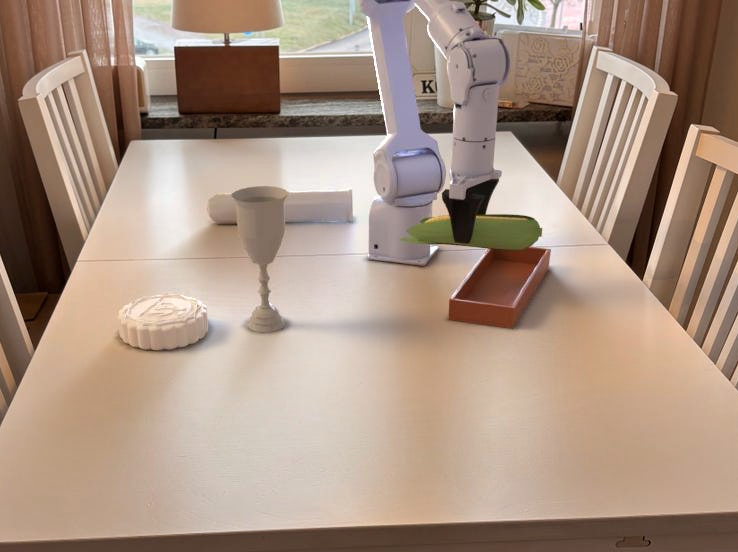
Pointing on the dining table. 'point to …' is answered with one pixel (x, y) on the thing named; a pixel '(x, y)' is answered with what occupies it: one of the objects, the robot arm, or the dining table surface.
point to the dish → (499, 287)
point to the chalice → (262, 243)
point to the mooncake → (163, 322)
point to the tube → (292, 206)
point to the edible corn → (480, 232)
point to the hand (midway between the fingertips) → (467, 235)
